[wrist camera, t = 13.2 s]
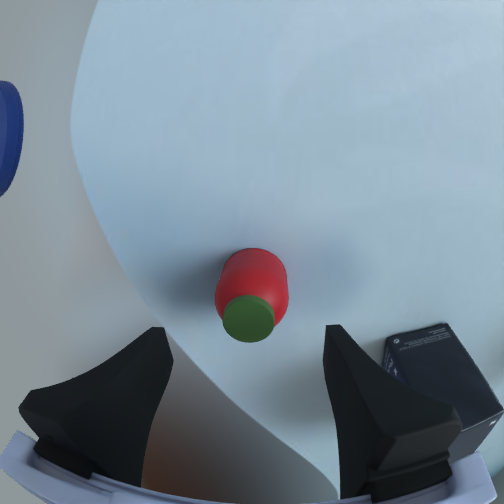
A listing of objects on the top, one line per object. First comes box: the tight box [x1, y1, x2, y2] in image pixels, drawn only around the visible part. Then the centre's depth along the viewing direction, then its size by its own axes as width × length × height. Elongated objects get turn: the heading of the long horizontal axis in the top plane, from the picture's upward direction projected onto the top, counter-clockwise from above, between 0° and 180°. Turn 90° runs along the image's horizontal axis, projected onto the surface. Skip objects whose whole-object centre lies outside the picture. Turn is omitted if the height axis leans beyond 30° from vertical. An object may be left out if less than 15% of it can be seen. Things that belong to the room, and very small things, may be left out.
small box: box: [382, 323, 504, 465], centre depth 16 cm, size 11×6×10 cm, turn 10°
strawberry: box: [215, 248, 289, 343], centre depth 16 cm, size 4×4×5 cm
